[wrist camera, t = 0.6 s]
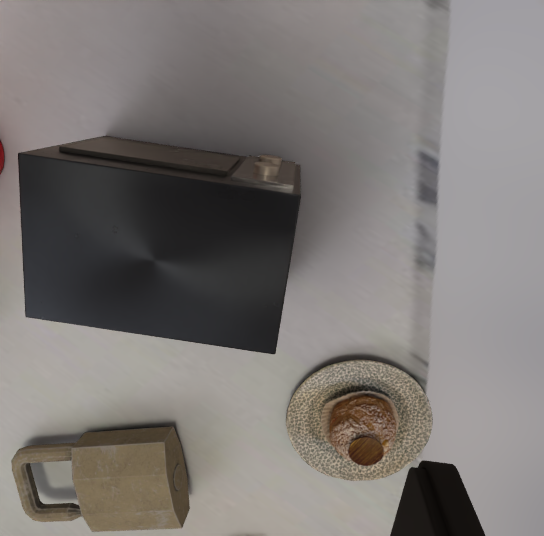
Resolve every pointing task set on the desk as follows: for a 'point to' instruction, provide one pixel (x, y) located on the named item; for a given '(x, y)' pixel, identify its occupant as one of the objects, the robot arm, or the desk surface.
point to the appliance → (158, 240)
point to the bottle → (1, 157)
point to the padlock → (113, 480)
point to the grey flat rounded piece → (359, 420)
